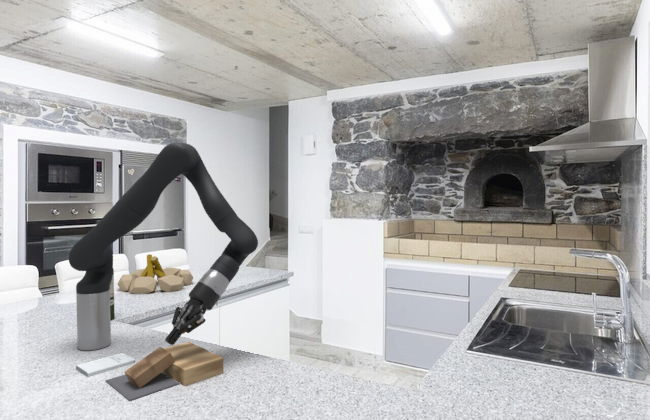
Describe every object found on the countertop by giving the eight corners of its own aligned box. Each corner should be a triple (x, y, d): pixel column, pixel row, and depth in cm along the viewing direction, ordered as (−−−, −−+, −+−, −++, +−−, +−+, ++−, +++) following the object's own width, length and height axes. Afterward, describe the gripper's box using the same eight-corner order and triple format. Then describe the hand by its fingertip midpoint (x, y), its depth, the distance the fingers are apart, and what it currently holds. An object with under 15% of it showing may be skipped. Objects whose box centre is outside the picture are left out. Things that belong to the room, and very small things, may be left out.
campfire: (140, 280, 238) (140, 250, 237) (200, 280, 237) (200, 250, 236) (105, 295, 203) (105, 259, 203) (176, 295, 202) (175, 259, 201)
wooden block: (152, 366, 118) (152, 351, 117) (189, 355, 126) (189, 341, 125) (184, 386, 105) (184, 370, 105) (223, 372, 113) (223, 357, 113)
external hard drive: (75, 370, 116) (122, 357, 125) (87, 379, 111) (135, 364, 120) (75, 364, 116) (122, 351, 125) (87, 373, 111) (135, 358, 120)
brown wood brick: (164, 355, 114) (129, 381, 107) (159, 346, 113) (124, 371, 106) (175, 361, 110) (139, 388, 103) (170, 352, 109) (134, 379, 102)
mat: (105, 381, 108) (105, 380, 108) (152, 367, 117) (152, 366, 117) (129, 401, 98) (129, 399, 97) (178, 384, 106) (178, 383, 106)
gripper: (189, 277, 122) (147, 329, 114) (214, 284, 113) (170, 341, 105) (205, 293, 126) (166, 344, 118) (231, 300, 117) (190, 356, 109)
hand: (168, 343), depth 111 cm, fingers closed
